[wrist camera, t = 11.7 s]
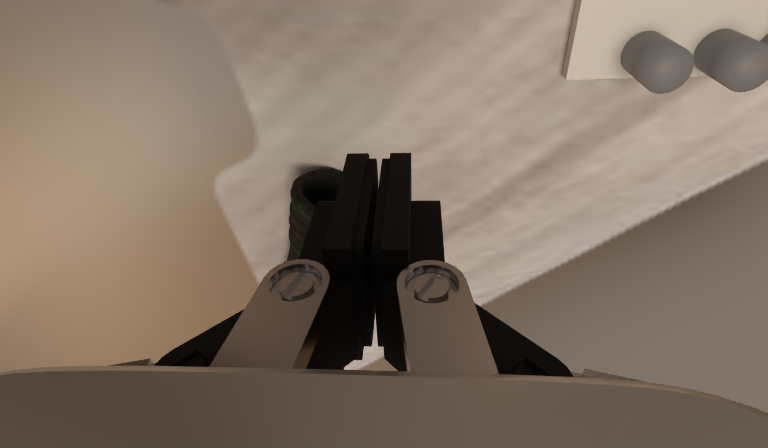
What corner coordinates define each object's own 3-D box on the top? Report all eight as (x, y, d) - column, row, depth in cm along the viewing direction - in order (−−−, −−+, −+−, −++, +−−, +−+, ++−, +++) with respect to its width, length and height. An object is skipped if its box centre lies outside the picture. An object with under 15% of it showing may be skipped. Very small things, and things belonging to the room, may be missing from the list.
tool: (306, 153, 40) (288, 193, 35) (372, 181, 42) (365, 224, 36) (234, 332, 56) (214, 378, 50) (284, 348, 57) (270, 395, 52)
